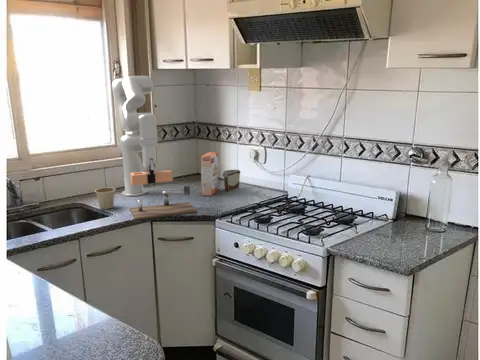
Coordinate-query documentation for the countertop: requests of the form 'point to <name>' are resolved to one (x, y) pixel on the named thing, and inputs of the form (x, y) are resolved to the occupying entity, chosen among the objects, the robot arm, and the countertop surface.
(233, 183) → the food container
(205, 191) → the cracker box
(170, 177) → the link
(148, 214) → the board
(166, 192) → the keeper
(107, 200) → the flower pot
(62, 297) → the countertop surface
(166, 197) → the hardware
